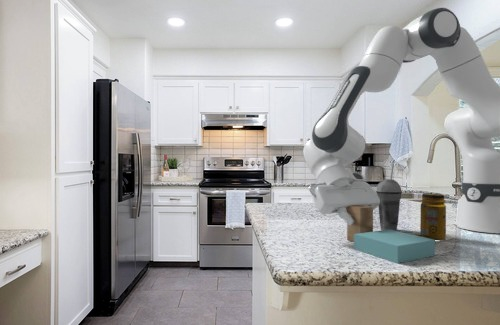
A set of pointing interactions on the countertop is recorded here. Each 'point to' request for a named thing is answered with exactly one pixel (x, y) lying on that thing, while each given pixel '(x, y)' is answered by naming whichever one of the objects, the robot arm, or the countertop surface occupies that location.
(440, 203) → the condiment
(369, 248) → the base slab
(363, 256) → the countertop surface
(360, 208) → the walnut block
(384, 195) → the beverage cup
